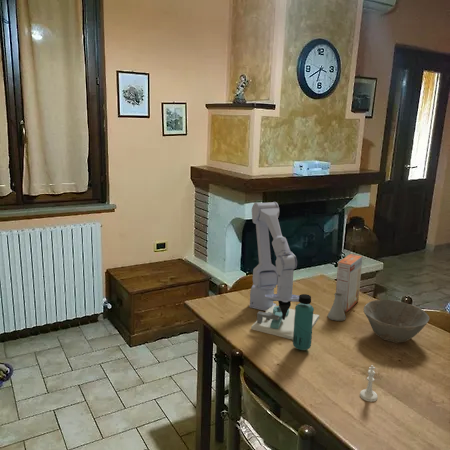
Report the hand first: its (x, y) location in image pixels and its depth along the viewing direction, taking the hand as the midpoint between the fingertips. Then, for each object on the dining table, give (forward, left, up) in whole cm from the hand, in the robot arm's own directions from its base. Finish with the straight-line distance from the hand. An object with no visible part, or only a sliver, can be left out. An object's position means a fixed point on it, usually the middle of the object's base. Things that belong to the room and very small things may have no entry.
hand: (283, 318), depth 170 cm
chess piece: (+37, -31, -3) cm, 48 cm away
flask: (+17, +16, -3) cm, 24 cm away
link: (-2, +1, -1) cm, 3 cm away
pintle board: (+1, +1, -2) cm, 3 cm away
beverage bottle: (+12, -15, -3) cm, 19 cm away
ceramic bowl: (+39, +10, -3) cm, 40 cm away
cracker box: (+18, +30, -3) cm, 35 cm away
